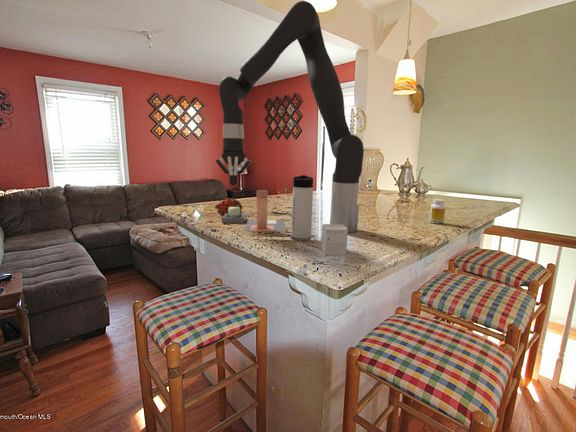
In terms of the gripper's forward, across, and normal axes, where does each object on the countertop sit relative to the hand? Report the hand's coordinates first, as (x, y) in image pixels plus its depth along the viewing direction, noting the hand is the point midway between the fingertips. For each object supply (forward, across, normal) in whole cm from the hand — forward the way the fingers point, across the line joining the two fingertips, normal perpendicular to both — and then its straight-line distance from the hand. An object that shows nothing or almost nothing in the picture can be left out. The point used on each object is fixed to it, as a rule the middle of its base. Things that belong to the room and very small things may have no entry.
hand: (233, 185), depth 115 cm
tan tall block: (+13, +11, -11) cm, 21 cm away
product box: (+15, +32, -33) cm, 48 cm away
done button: (+12, 0, 0) cm, 12 cm away
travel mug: (+15, +24, -20) cm, 35 cm away
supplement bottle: (+14, +82, +6) cm, 84 cm away
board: (+14, +12, -7) cm, 20 cm away
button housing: (+14, 0, 0) cm, 15 cm away
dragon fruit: (+15, -4, +13) cm, 20 cm away
